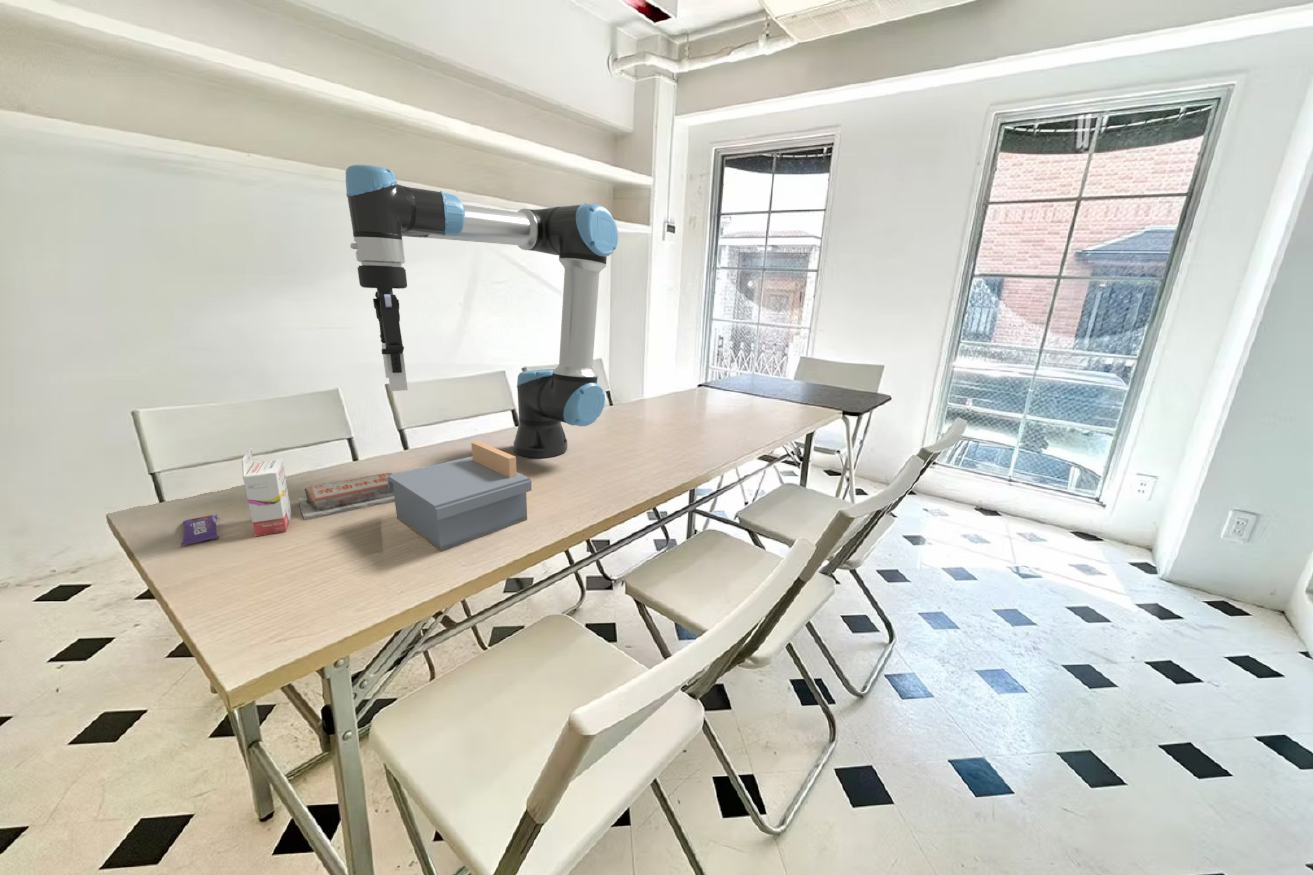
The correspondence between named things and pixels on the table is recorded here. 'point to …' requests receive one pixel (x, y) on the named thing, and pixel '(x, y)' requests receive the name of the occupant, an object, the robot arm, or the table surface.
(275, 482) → the ink cartridge box
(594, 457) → the table surface
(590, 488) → the table surface
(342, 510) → the packaged product
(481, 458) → the lid
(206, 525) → the snack package
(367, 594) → the table surface
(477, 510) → the open gray box
